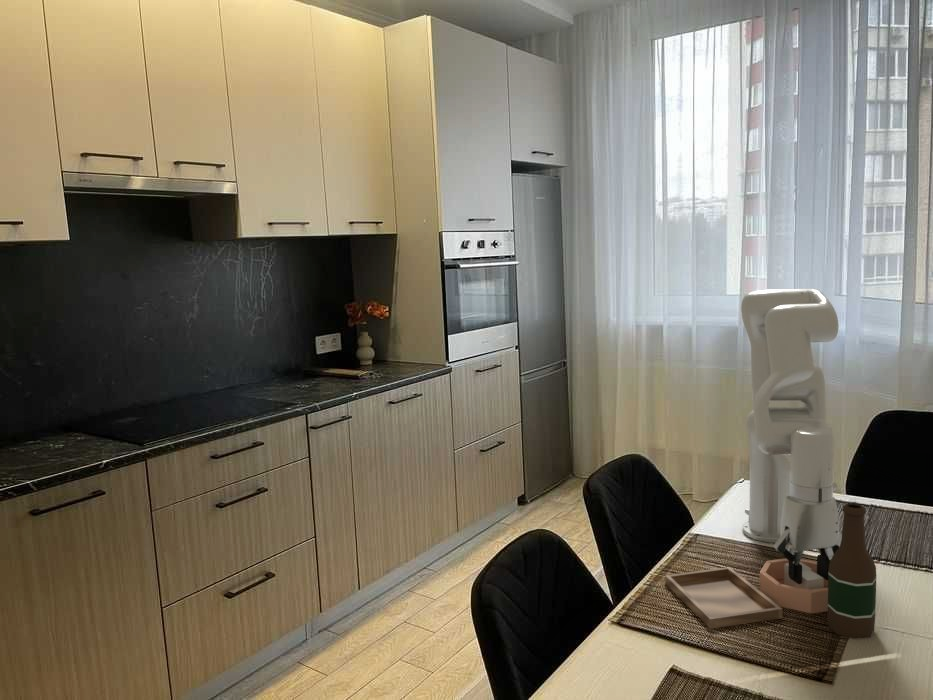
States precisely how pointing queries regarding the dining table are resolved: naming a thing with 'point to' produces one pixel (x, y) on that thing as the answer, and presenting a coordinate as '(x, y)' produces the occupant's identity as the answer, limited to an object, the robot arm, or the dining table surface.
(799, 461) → the robot arm
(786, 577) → the off-white matte cube
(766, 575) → the bowl
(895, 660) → the dining table surface
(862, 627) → the beer bottle
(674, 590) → the walnut tray
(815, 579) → the white sharp-edged block
